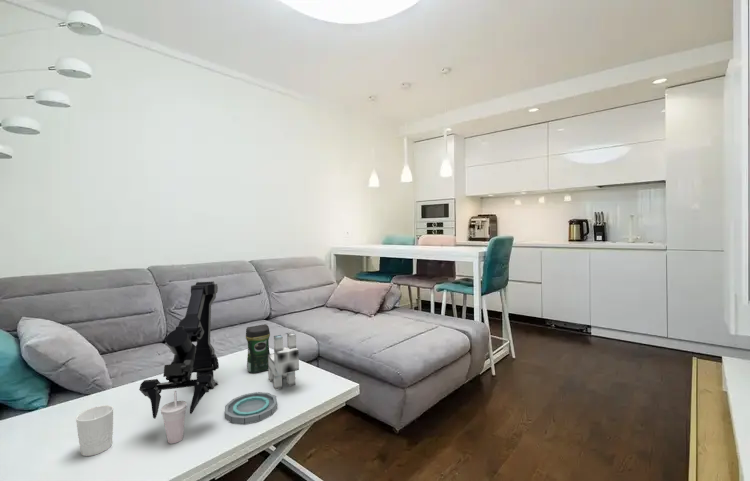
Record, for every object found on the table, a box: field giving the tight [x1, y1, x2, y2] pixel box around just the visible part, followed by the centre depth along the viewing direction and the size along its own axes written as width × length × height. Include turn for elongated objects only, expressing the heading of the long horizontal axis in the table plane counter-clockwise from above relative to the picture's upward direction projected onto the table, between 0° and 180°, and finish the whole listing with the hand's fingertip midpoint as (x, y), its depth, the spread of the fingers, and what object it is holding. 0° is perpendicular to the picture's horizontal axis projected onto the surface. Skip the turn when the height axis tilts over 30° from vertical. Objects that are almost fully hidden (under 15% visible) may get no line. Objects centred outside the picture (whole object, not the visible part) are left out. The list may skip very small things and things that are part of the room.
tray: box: [223, 391, 278, 425], centre depth 114 cm, size 16×16×2 cm
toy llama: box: [267, 332, 300, 391], centre depth 132 cm, size 8×18×20 cm, turn 31°
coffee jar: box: [245, 323, 271, 374], centre depth 146 cm, size 10×8×19 cm
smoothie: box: [160, 390, 188, 444], centre depth 98 cm, size 6×6×14 cm
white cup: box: [75, 405, 114, 457], centre depth 95 cm, size 8×8×10 cm
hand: (172, 415), depth 97 cm, fingers open, 9 cm apart
